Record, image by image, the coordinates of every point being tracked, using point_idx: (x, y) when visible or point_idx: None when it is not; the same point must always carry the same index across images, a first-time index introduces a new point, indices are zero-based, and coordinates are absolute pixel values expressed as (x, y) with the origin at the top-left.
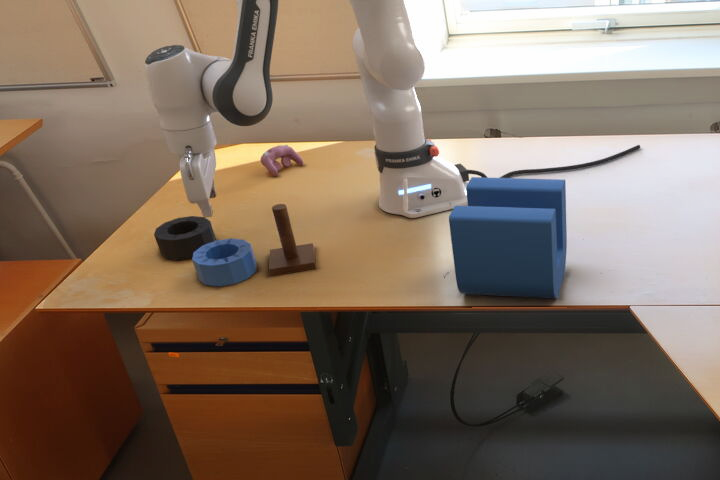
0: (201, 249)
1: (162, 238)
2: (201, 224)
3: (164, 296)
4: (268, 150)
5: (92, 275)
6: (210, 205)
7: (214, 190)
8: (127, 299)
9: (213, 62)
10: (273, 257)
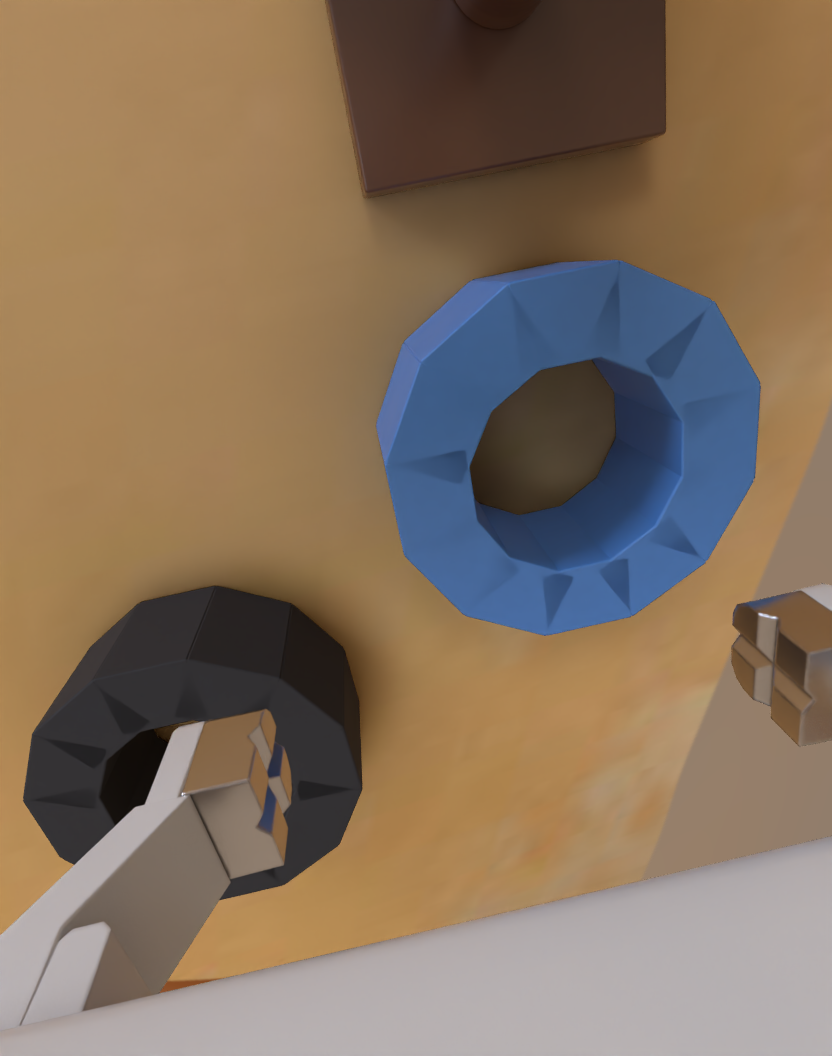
0: (515, 605)
1: (334, 836)
2: (152, 712)
3: (682, 650)
4: None
5: None
6: (812, 658)
7: (246, 767)
8: (658, 767)
9: None
10: (498, 131)
